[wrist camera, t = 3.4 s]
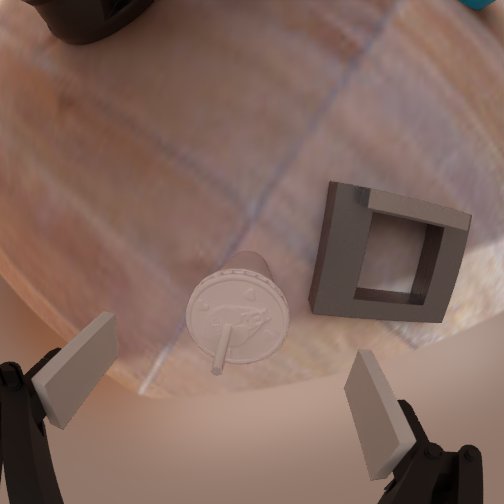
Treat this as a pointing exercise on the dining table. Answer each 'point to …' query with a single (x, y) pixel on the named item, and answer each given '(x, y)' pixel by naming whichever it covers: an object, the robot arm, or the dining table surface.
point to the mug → (477, 3)
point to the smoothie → (238, 313)
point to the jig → (353, 249)
